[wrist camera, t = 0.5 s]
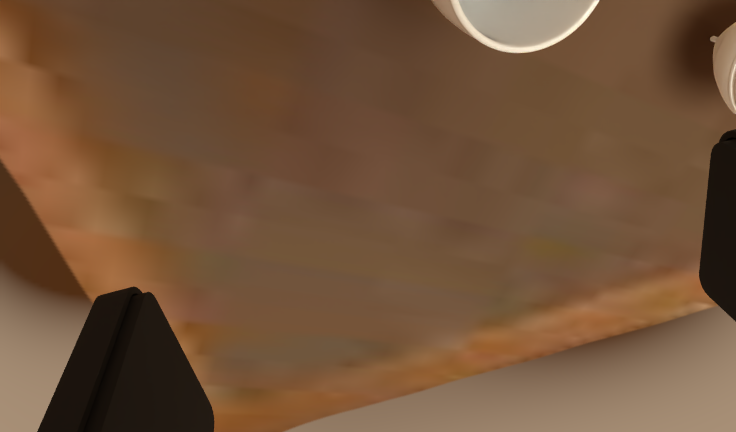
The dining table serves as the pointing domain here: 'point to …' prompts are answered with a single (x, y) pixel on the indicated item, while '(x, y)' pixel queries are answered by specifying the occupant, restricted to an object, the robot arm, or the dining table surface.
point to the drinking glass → (516, 21)
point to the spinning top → (726, 65)
